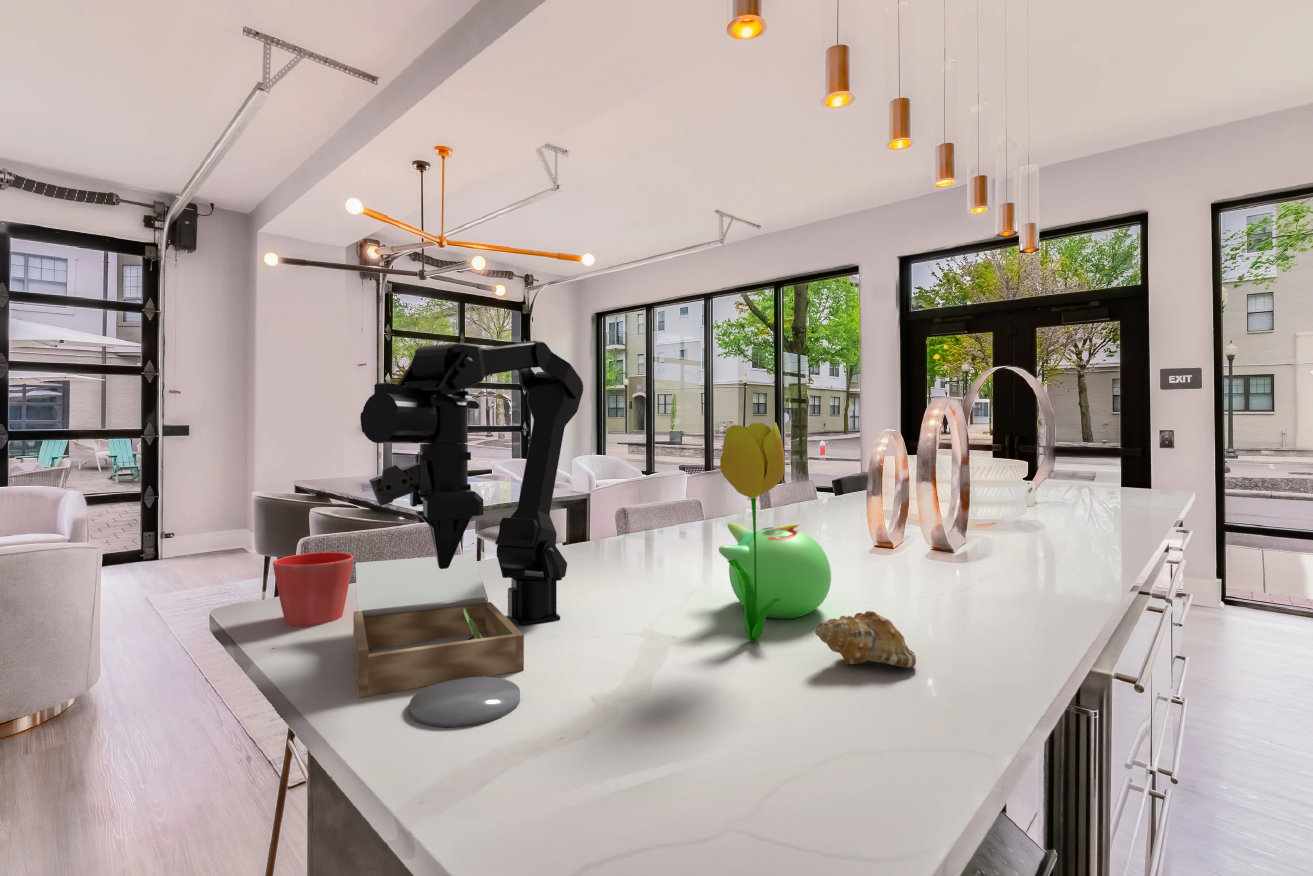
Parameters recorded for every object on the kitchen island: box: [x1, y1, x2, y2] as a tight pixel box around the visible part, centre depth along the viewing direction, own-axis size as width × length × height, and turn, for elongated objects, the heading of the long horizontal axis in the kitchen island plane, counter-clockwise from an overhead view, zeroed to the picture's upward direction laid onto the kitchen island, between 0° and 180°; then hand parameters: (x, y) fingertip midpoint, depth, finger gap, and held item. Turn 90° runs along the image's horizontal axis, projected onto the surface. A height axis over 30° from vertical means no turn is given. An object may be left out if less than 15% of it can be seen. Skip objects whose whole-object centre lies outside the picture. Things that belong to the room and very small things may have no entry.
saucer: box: [409, 676, 521, 728], centre depth 66 cm, size 11×11×1 cm
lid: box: [355, 553, 489, 618], centre depth 92 cm, size 17×11×10 cm, turn 117°
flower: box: [719, 422, 786, 644], centre depth 85 cm, size 9×8×30 cm
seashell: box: [814, 610, 917, 668], centre depth 77 cm, size 9×8×10 cm
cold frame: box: [352, 601, 525, 698], centre depth 80 cm, size 18×18×5 cm
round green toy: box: [718, 522, 832, 620], centre depth 100 cm, size 18×17×15 cm
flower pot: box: [272, 551, 354, 627], centre depth 98 cm, size 11×11×10 cm
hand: (443, 568), depth 79 cm, fingers closed
